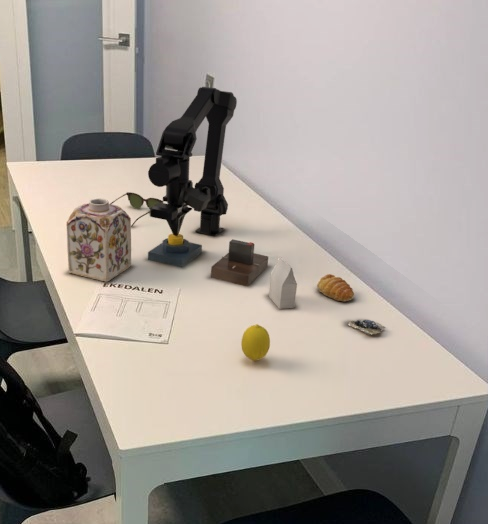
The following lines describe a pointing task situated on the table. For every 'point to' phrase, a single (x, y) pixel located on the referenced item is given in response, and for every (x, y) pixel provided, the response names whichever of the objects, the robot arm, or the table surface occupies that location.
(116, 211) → the decorative jar
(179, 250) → the blue button base
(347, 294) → the pastry
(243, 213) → the table surface
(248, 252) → the dark grey block
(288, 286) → the grey wedge block
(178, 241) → the button
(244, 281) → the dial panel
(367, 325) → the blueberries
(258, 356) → the lemon
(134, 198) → the sunglasses
